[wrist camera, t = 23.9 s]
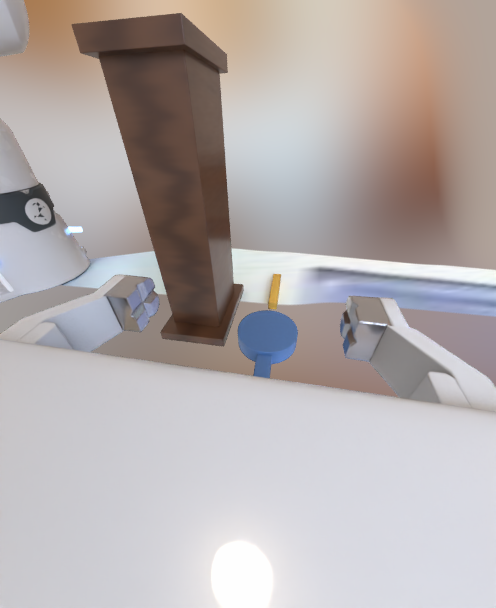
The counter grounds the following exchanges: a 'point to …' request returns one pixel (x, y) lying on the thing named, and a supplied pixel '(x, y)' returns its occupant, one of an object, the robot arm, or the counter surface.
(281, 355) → the spoon
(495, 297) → the counter surface
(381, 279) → the counter surface
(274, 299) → the fry
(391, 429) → the robot arm
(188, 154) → the spoon stand
